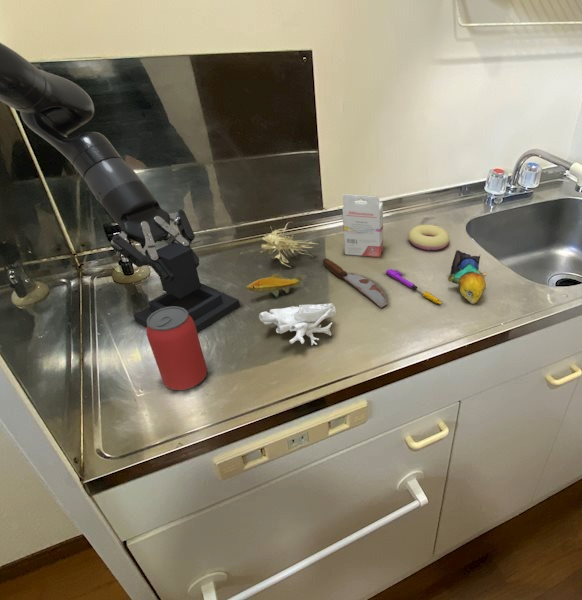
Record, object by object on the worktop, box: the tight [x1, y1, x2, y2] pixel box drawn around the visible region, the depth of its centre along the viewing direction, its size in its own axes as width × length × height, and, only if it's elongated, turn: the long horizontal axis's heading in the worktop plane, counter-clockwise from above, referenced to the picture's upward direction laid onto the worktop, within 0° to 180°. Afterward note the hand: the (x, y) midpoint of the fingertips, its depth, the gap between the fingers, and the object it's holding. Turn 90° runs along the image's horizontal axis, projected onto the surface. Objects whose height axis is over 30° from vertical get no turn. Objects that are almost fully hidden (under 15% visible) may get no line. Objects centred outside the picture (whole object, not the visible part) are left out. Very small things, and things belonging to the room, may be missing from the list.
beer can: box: [146, 306, 208, 391], centre depth 72 cm, size 7×7×12 cm
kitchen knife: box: [322, 258, 388, 309], centre depth 99 cm, size 21×2×5 cm
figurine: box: [447, 249, 488, 305], centre depth 97 cm, size 11×8×6 cm, turn 169°
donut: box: [408, 224, 450, 251], centre depth 114 cm, size 10×5×9 cm
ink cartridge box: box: [341, 193, 384, 258], centre depth 107 cm, size 9×5×15 cm, turn 83°
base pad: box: [133, 282, 241, 334], centre depth 88 cm, size 14×12×4 cm
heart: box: [258, 303, 337, 346], centre depth 83 cm, size 12×7×12 cm
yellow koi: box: [245, 273, 308, 298], centre depth 94 cm, size 12×2×5 cm, turn 121°
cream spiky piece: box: [260, 221, 318, 269], centre depth 104 cm, size 11×15×9 cm
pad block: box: [156, 242, 201, 299], centre depth 84 cm, size 5×5×8 cm
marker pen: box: [386, 268, 443, 305], centre depth 98 cm, size 3×1×16 cm
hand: (184, 272), depth 83 cm, fingers closed on pad block, 4 cm apart
